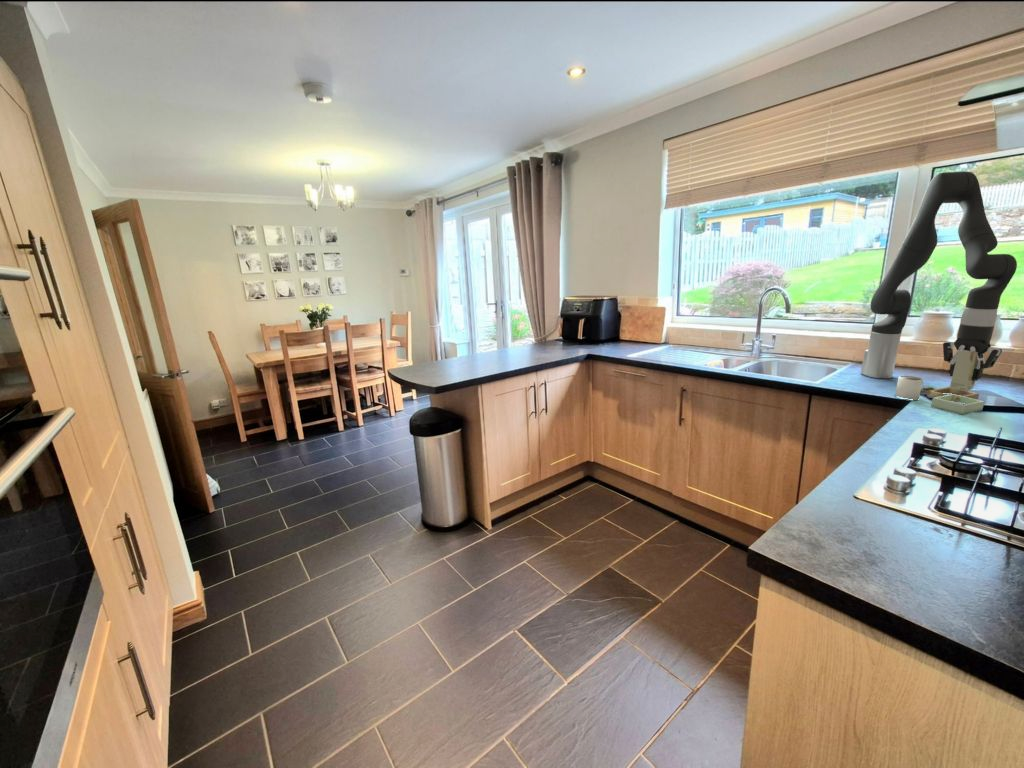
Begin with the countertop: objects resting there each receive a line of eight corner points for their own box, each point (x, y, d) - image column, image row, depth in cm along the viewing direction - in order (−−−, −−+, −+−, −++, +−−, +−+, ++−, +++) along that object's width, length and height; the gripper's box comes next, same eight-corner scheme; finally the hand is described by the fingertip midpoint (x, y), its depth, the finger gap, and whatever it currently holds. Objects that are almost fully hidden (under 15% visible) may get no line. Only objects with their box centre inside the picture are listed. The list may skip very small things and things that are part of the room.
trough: (930, 406, 153) (932, 397, 153) (950, 402, 157) (952, 393, 156) (962, 415, 146) (964, 405, 145) (982, 410, 149) (984, 401, 148)
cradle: (909, 393, 167) (910, 386, 166) (928, 389, 170) (930, 382, 170) (956, 405, 154) (958, 398, 153) (977, 401, 158) (979, 393, 157)
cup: (890, 396, 164) (894, 376, 162) (902, 393, 166) (906, 374, 164) (910, 401, 158) (915, 381, 156) (923, 399, 161) (928, 378, 159)
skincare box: (967, 392, 146) (976, 352, 143) (948, 388, 149) (957, 350, 146) (974, 388, 149) (983, 349, 146) (955, 385, 153) (965, 347, 149)
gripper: (1015, 325, 139) (1000, 382, 143) (956, 319, 152) (944, 371, 156) (1000, 327, 136) (985, 385, 141) (941, 321, 149) (929, 374, 154)
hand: (963, 377), depth 148 cm, fingers closed on skincare box, 5 cm apart
